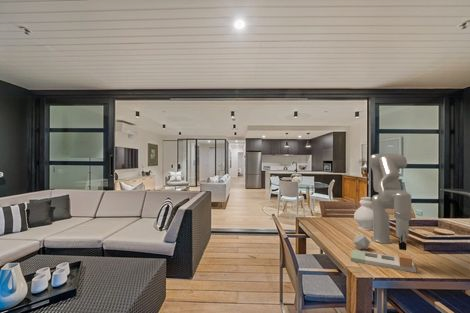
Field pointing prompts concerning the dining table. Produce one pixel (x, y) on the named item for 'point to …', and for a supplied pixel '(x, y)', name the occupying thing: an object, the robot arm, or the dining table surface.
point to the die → (361, 242)
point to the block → (405, 260)
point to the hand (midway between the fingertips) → (402, 249)
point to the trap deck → (379, 260)
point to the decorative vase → (364, 214)
